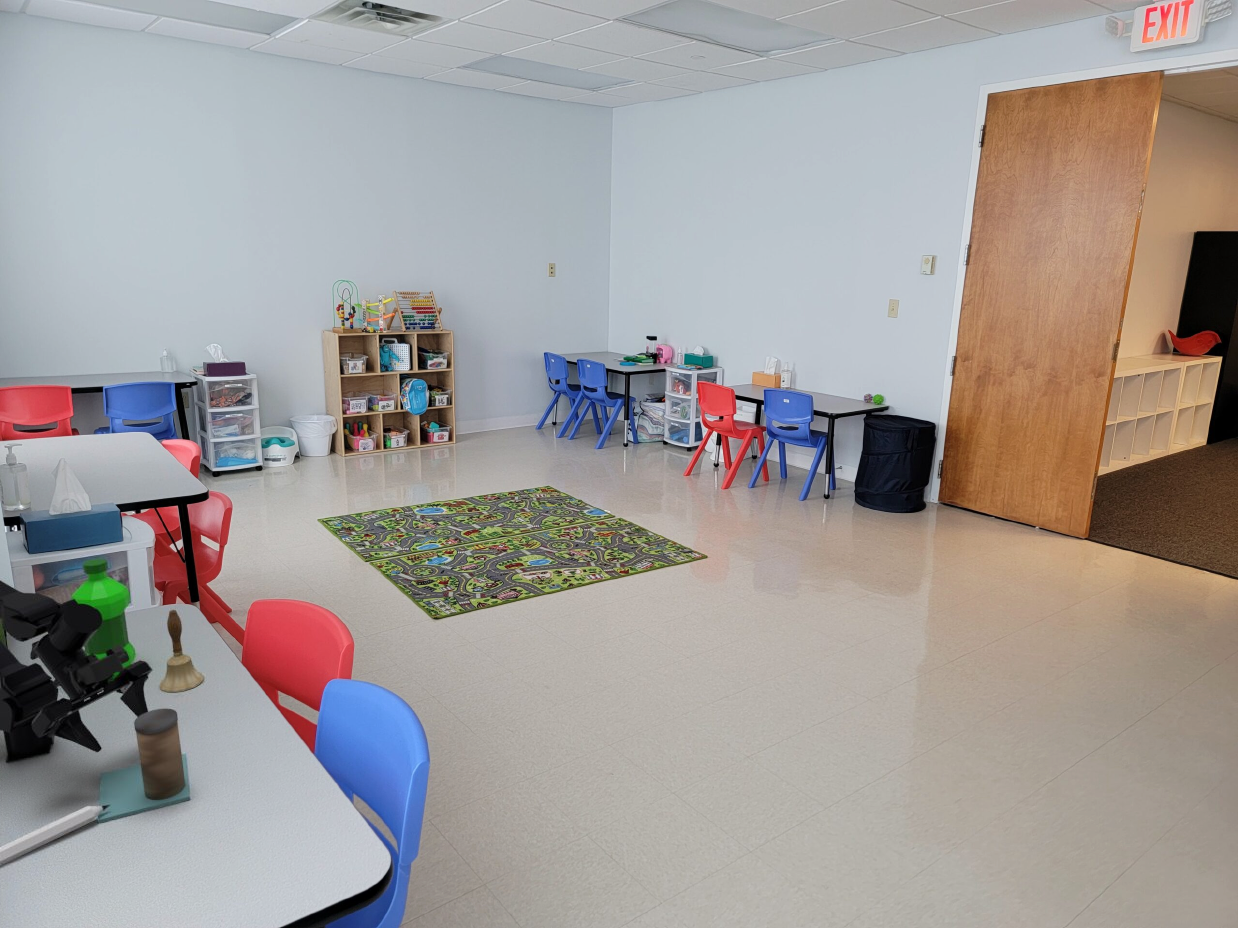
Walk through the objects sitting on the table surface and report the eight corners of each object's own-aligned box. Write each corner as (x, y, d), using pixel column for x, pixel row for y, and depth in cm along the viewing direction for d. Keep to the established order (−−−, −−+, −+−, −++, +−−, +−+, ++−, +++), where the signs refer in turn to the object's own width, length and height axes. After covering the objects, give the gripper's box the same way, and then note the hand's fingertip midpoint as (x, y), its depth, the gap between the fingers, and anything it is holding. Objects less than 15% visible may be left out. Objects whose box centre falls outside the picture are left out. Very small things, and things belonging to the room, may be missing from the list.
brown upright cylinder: (137, 800, 140) (126, 728, 137) (154, 778, 146) (145, 708, 143) (176, 799, 140) (166, 728, 137) (192, 777, 146) (183, 707, 143)
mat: (98, 823, 135) (97, 819, 135) (101, 776, 147) (100, 773, 147) (190, 799, 141) (189, 796, 141) (186, 756, 153) (185, 753, 153)
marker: (113, 813, 138) (-4, 869, 126) (108, 803, 139) (-10, 857, 127) (114, 804, 136) (-5, 860, 125) (108, 794, 137) (-11, 848, 125)
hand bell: (150, 687, 177) (140, 615, 173) (183, 670, 184) (175, 600, 181) (180, 695, 174) (171, 622, 170) (213, 677, 181) (205, 607, 178)
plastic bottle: (71, 680, 180) (53, 566, 174) (116, 658, 189) (101, 550, 183) (104, 689, 176) (87, 574, 170) (149, 667, 185) (135, 557, 179)
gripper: (32, 662, 133) (93, 741, 132) (138, 616, 150) (192, 686, 149) (6, 698, 138) (64, 775, 137) (111, 649, 155) (163, 718, 154)
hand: (124, 736), depth 144 cm, fingers open, 9 cm apart
